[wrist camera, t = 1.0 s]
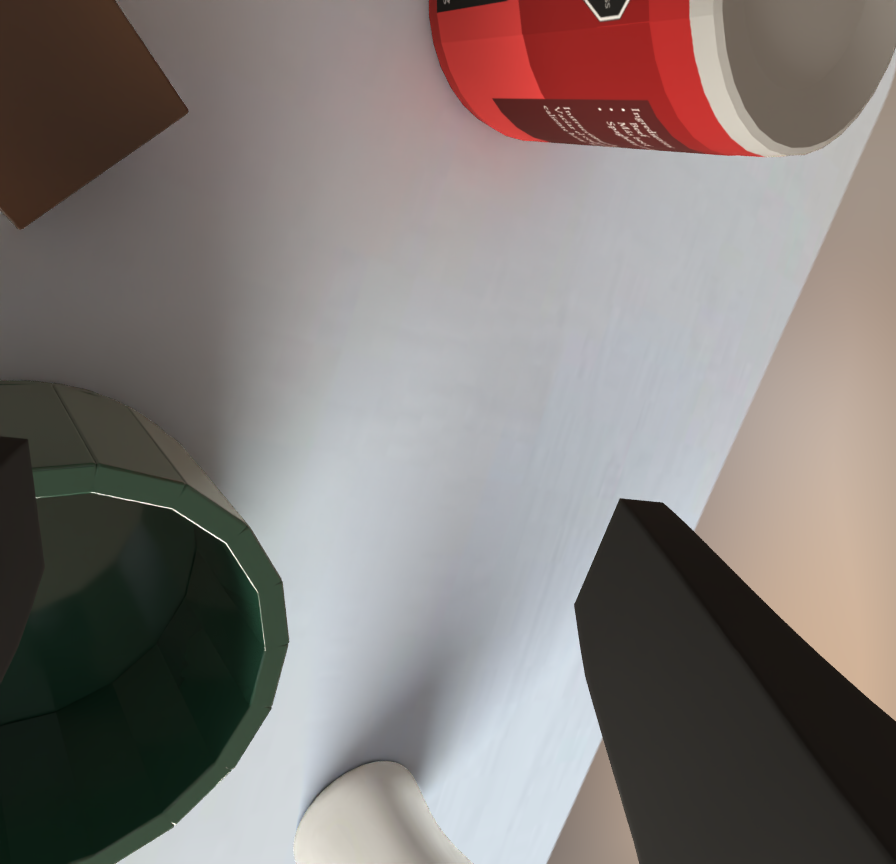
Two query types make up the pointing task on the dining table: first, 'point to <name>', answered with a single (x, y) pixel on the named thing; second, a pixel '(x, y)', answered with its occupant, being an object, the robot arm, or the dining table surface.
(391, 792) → the beer glass
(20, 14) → the block
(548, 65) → the canned food
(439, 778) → the dining table surface
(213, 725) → the pot
